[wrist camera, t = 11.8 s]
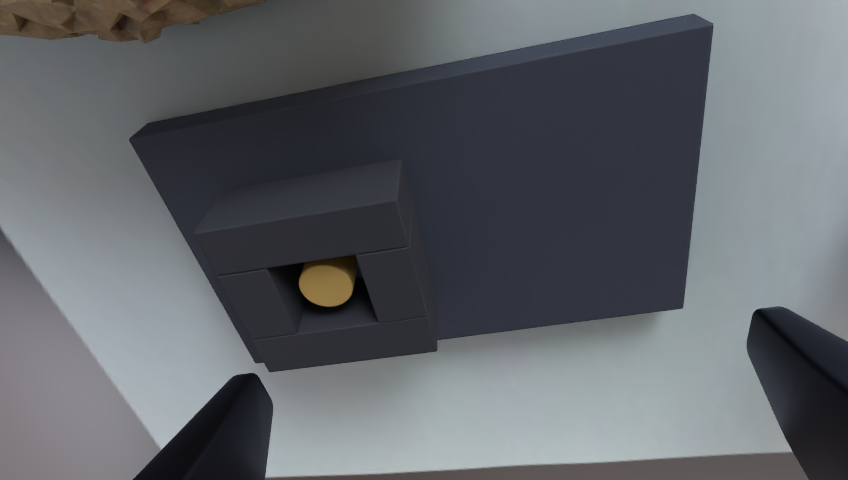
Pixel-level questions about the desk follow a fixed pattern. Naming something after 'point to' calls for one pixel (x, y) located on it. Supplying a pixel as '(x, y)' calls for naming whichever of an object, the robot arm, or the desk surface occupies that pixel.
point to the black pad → (316, 240)
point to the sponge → (106, 17)
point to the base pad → (488, 173)
